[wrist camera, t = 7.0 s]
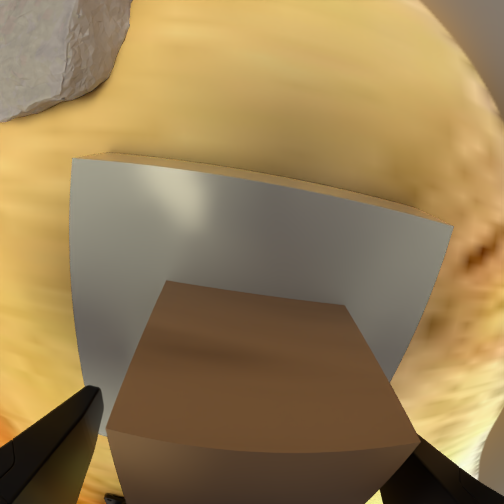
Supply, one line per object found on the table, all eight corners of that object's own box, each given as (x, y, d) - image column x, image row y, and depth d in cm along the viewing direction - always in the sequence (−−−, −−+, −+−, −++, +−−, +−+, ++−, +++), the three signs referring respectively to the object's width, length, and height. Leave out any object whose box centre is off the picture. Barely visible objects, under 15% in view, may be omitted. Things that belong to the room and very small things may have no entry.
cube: (299, 420, 13) (324, 539, 7) (161, 406, 12) (136, 530, 6) (344, 305, 11) (420, 441, 5) (166, 280, 10) (105, 428, 4)
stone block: (133, 105, 12) (165, -83, 7) (80, 122, 8) (131, -128, 3) (-31, 118, 12) (-15, -29, 7) (-87, 141, 8) (-68, -33, 3)
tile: (331, 420, 17) (343, 458, 14) (110, 395, 16) (95, 433, 13) (414, 207, 13) (453, 226, 10) (107, 152, 11) (72, 158, 8)
